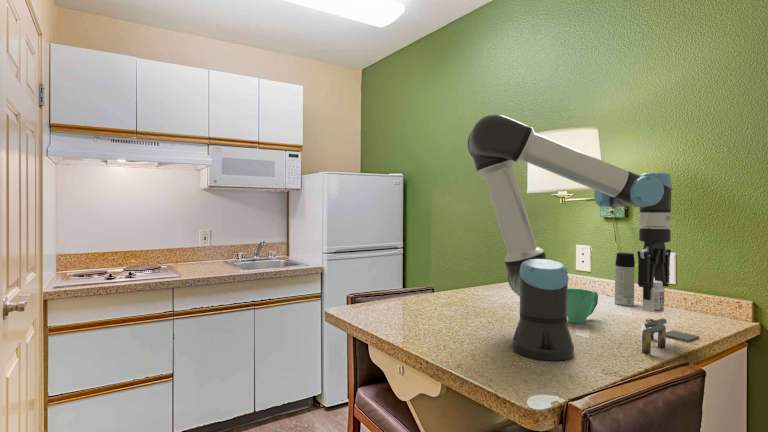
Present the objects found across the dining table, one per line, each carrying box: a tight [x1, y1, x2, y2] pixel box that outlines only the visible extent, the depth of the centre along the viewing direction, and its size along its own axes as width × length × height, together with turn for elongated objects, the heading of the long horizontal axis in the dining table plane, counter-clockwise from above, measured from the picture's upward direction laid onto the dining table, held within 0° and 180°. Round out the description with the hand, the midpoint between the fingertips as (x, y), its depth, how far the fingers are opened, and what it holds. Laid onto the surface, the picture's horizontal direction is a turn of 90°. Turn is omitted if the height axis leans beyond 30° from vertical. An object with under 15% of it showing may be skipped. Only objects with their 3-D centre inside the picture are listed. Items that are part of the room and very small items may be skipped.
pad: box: [666, 329, 700, 343], centre depth 126 cm, size 7×7×1 cm
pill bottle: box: [652, 280, 665, 314], centre depth 122 cm, size 5×5×8 cm
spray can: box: [614, 252, 636, 307], centre depth 169 cm, size 7×7×20 cm
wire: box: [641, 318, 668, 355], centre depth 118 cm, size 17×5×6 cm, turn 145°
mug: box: [567, 288, 599, 324], centre depth 144 cm, size 15×10×10 cm
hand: (653, 309), depth 123 cm, fingers closed on pill bottle, 5 cm apart
